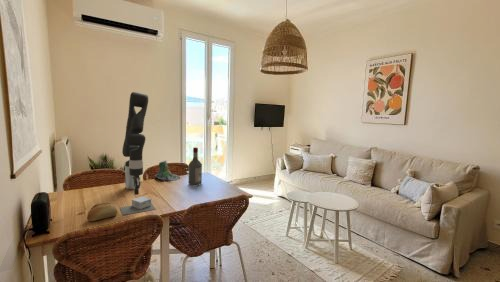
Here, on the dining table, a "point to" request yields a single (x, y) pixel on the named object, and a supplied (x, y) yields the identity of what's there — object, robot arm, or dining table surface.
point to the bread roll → (101, 211)
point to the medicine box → (141, 202)
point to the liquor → (195, 169)
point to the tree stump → (165, 173)
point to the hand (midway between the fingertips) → (136, 194)
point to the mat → (135, 209)
